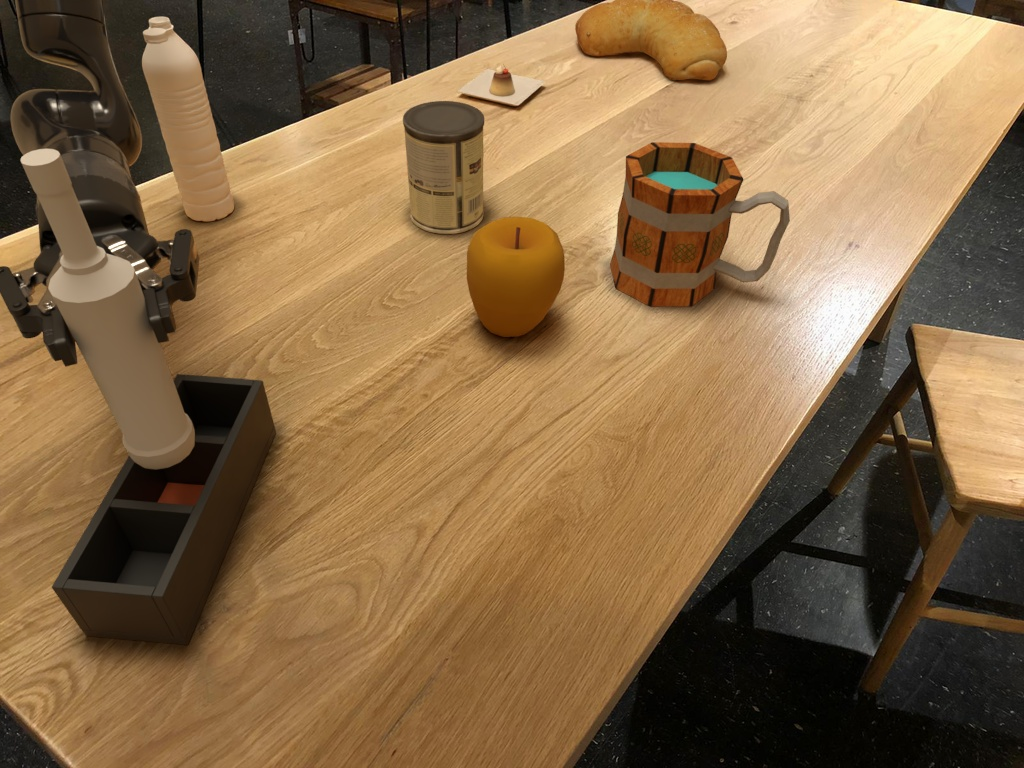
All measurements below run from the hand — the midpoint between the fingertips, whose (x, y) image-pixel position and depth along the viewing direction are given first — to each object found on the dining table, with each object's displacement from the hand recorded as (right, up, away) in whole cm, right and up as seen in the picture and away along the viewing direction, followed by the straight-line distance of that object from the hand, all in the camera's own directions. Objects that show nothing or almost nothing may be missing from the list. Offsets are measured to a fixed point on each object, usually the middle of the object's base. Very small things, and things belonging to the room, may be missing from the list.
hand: (113, 343), depth 50 cm
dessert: (+24, +50, +87) cm, 103 cm away
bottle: (-2, -8, +11) cm, 13 cm away
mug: (+48, +10, +46) cm, 67 cm away
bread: (+54, +63, +103) cm, 132 cm away
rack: (-2, -15, +17) cm, 23 cm away
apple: (+26, +4, +39) cm, 47 cm away
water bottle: (-15, +20, +54) cm, 60 cm away
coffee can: (+17, +21, +56) cm, 62 cm away
